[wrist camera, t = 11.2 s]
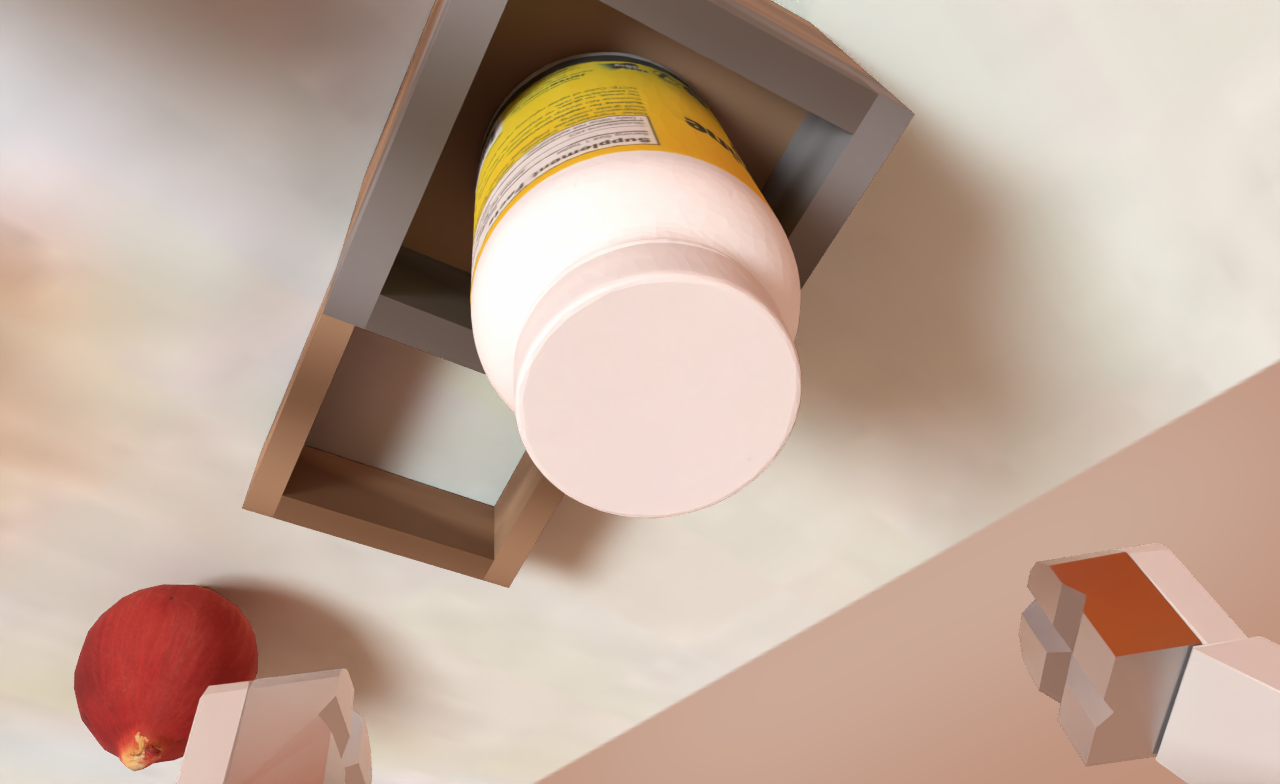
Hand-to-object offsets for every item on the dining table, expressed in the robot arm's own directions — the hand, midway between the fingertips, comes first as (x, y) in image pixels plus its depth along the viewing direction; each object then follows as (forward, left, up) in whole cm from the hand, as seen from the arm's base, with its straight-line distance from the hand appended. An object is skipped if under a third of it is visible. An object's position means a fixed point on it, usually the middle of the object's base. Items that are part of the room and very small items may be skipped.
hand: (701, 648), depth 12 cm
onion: (-23, +5, -22) cm, 33 cm away
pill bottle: (0, 0, -16) cm, 16 cm away
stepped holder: (-6, 0, -22) cm, 23 cm away
